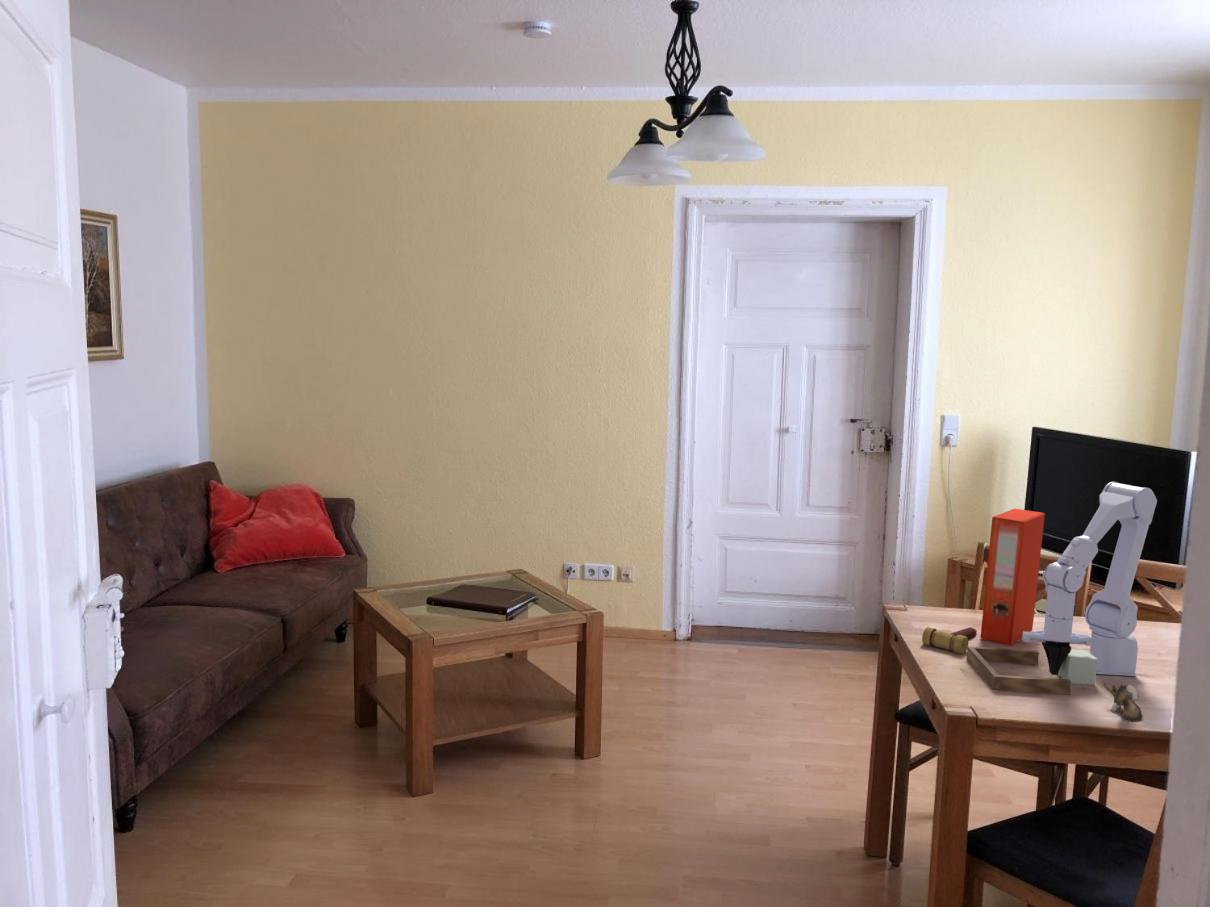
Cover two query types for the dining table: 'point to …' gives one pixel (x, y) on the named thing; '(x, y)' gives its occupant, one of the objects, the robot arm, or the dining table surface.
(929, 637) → the gavel
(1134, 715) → the eagle figurine
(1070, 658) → the cube
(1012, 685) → the wooden frame
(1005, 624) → the file binder
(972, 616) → the dining table surface
